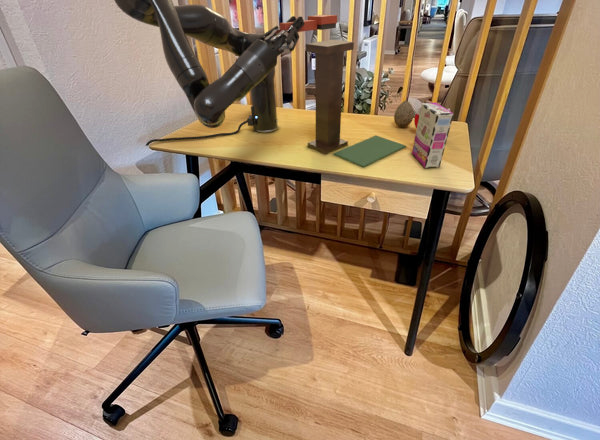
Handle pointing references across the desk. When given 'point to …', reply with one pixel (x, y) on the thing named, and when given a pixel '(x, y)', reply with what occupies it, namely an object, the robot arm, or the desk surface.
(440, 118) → the candy bar box
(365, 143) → the felt mat
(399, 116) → the decorative egg
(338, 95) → the stand
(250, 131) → the desk surface
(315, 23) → the brush
